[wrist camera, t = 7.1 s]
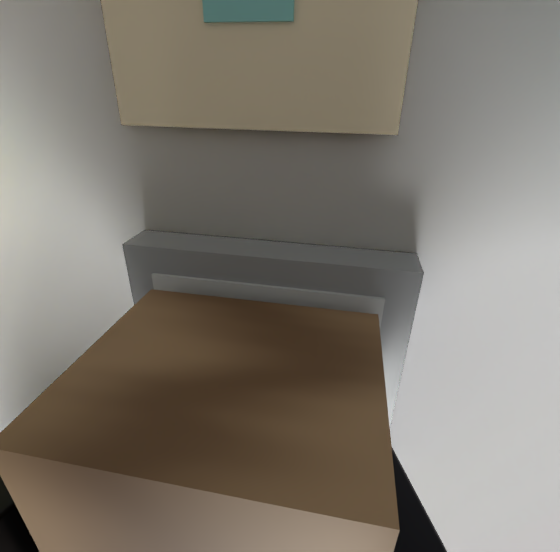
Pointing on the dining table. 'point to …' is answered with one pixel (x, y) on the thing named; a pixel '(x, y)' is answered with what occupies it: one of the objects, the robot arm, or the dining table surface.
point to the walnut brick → (212, 434)
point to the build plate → (287, 280)
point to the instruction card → (261, 63)
